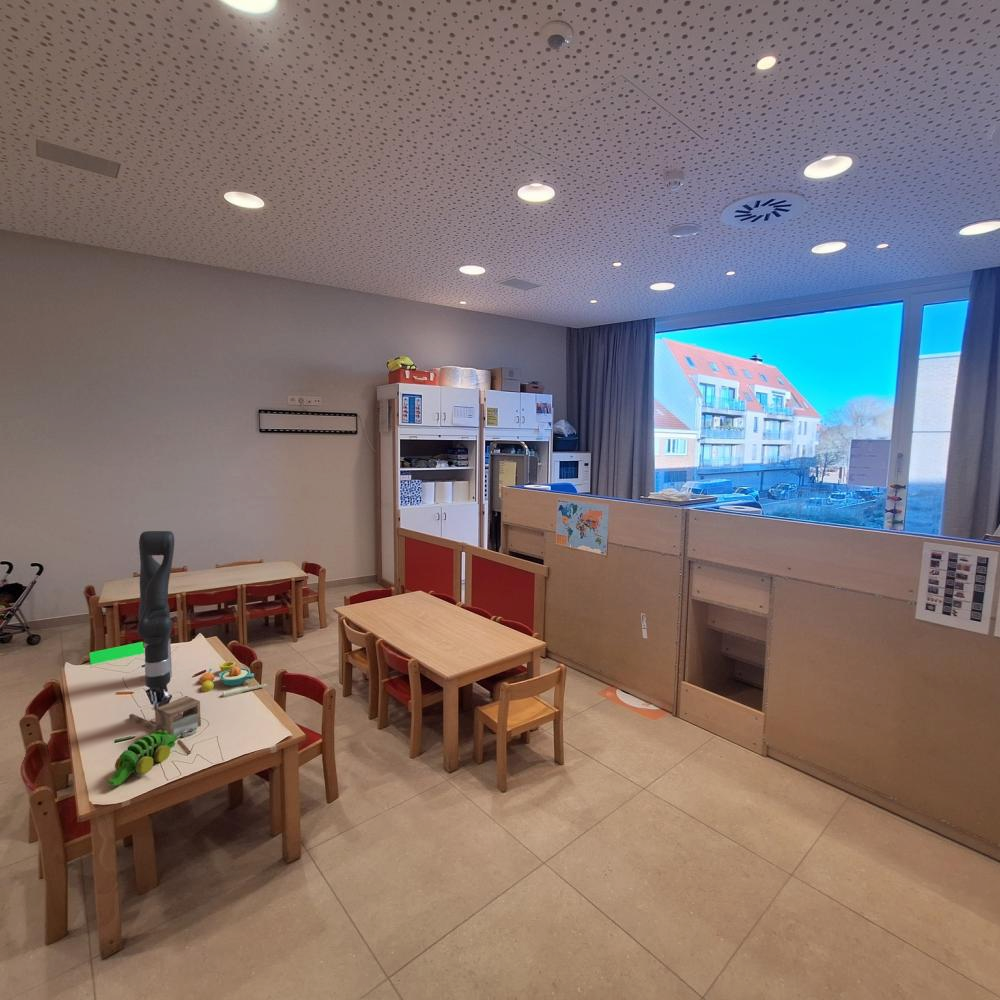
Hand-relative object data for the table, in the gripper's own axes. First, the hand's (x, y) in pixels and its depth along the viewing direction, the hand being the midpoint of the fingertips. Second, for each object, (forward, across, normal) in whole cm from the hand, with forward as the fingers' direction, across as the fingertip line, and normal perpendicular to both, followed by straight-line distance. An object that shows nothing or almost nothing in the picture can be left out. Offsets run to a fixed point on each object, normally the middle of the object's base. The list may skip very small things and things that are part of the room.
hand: (159, 716), depth 191 cm
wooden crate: (+2, +11, 0) cm, 11 cm away
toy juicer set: (+2, -4, +29) cm, 30 cm away
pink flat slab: (+2, +7, 0) cm, 8 cm away
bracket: (+3, -71, +20) cm, 73 cm away
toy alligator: (+2, +21, -13) cm, 25 cm away
